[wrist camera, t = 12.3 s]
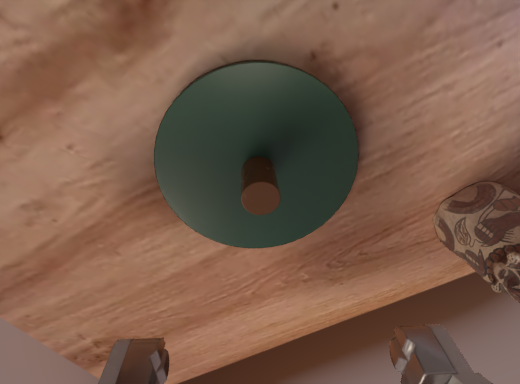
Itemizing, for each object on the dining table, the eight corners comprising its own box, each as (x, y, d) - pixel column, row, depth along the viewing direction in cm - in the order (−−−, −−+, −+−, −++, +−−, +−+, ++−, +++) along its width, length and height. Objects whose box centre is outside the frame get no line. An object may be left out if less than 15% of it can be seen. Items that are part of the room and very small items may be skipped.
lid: (369, 56, 20) (406, 67, 16) (341, 235, 28) (359, 277, 24) (136, 62, 19) (105, 76, 15) (175, 243, 27) (162, 288, 23)
